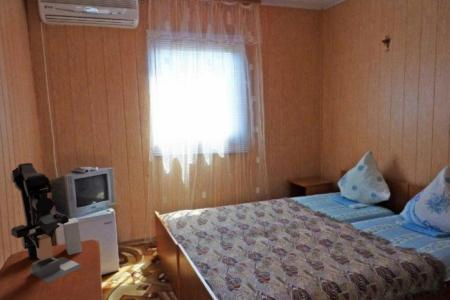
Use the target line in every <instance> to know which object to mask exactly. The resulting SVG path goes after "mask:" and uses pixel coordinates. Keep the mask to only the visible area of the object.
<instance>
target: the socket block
mask: <svg viewBox="0 0 450 300" xmlns="http://www.w3.org/2000/svg"><path fill="white" fill-rule="evenodd" d="M31 266H32V267H31V269H30V270H27V273H30V274H32V275H33V276H35V277H37V278H38V279H39V280H42V281H44V282H45V283H47V284H48V283H50V282H53V281H55V280H57V279H59V278H62V277H63V276H66V275H68V274H70V273H72V272H74V271H77V270H79V269H80V268H81V269H82V268H83V267H84V266H83V265H81V264H80V263H78V262H75V261H74V260H71V259H69V258H67V257H65V256H62V257H61V256H60V257H58V258H55V257H54V256H52V257H50V258H47V259H45V260H41V259H38V260H36V261H34V262H32V263H31Z"/></svg>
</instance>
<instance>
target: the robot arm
mask: <svg viewBox="0 0 450 300" xmlns="http://www.w3.org/2000/svg"><path fill="white" fill-rule="evenodd" d="M11 181H12V183H14V187H15V188H16V189H17V190H18V191H19V192H20V195H21V201H22V202H21V203H22V208H23V213H24V218H25V219H24V220H25V222H26V223H25V225H24V224H21V225H18V226H14V227H12V228H11V231H10V233H11V236H12V237H14V238H16V239H20V238H21V244H22V248H23V249H24V250H27V256H26V257H25V259H26V258H28V259H29V260H40V259H39V258H37V250H36V248H39V243H38V238H37V236H40V235H43V234H47V235H49V236H50V237H51V242H52V241H53V237H54V234H55V231H56V230H57V229H58V228H59V227H60V226H61V225H63V224H64V223H67V222H69V219H70V218H69V216H68V215H66V214H63V213H60V212H58V213H55V214H52V213H51V211H52V210H53V208H54V205H55V203H54V201H53V200H52V198H50V197H49V195H48V194H51V193H52V192H53V191H52V190H53V186H52V183H51V180H50V179H49V177H48V176H46V174H45V173H43V172H38V171H37V170H36V169H35V167H34V165H33V163H32V162H26V163H25V162H23V163H19V164H18V165H17V167H16V168H14V169H13V170H12V171H11ZM59 224H61V225H59Z"/></svg>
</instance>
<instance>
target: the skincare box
mask: <svg viewBox="0 0 450 300" xmlns="http://www.w3.org/2000/svg"><path fill="white" fill-rule="evenodd" d="M62 227H63V234H64V243H65V250H66V254H68V256H70V255H71V256H72V255H75V254H80V253H83V247H82V241H81V240H82V239H81V233H80V225H79V221H78V218H77V217H73V218H69V222H67V223H64V224H62Z"/></svg>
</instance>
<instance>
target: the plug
mask: <svg viewBox="0 0 450 300" xmlns="http://www.w3.org/2000/svg"><path fill="white" fill-rule="evenodd" d="M37 238H38V243H39V248H36V250H37V258H39V259H38V260H45V259H47V258H50V257H54V251H53V244H52V241H51V237H50V236H49V235H47V234H43V235H40V236H37Z"/></svg>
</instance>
